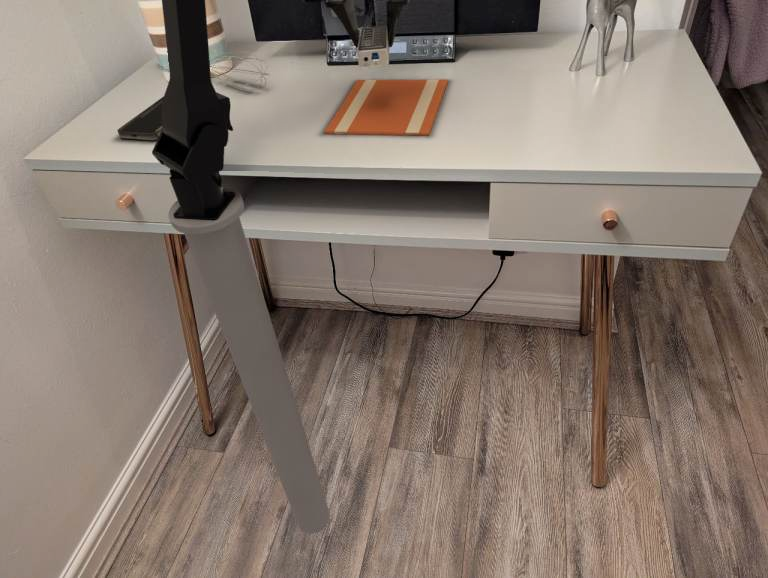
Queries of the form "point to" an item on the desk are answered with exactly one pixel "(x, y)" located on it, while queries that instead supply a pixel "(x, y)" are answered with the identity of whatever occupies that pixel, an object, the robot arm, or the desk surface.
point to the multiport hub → (373, 46)
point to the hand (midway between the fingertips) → (374, 46)
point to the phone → (144, 124)
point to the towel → (389, 107)
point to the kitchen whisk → (242, 70)
